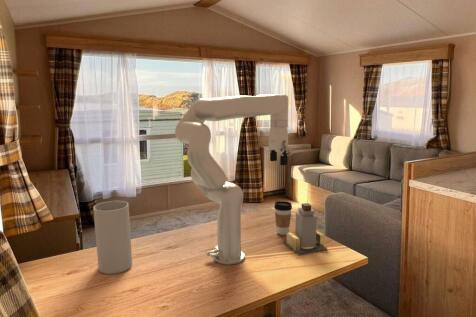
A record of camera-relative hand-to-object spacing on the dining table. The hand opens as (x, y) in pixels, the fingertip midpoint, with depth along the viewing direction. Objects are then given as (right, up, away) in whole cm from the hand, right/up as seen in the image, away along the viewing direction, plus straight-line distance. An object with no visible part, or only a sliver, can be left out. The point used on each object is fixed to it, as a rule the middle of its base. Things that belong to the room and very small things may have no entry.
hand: (278, 162), depth 156 cm
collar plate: (+12, -37, 0) cm, 39 cm away
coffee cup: (+4, -34, +16) cm, 38 cm away
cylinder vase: (-66, -41, -17) cm, 79 cm away
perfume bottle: (+12, -36, 0) cm, 38 cm away
